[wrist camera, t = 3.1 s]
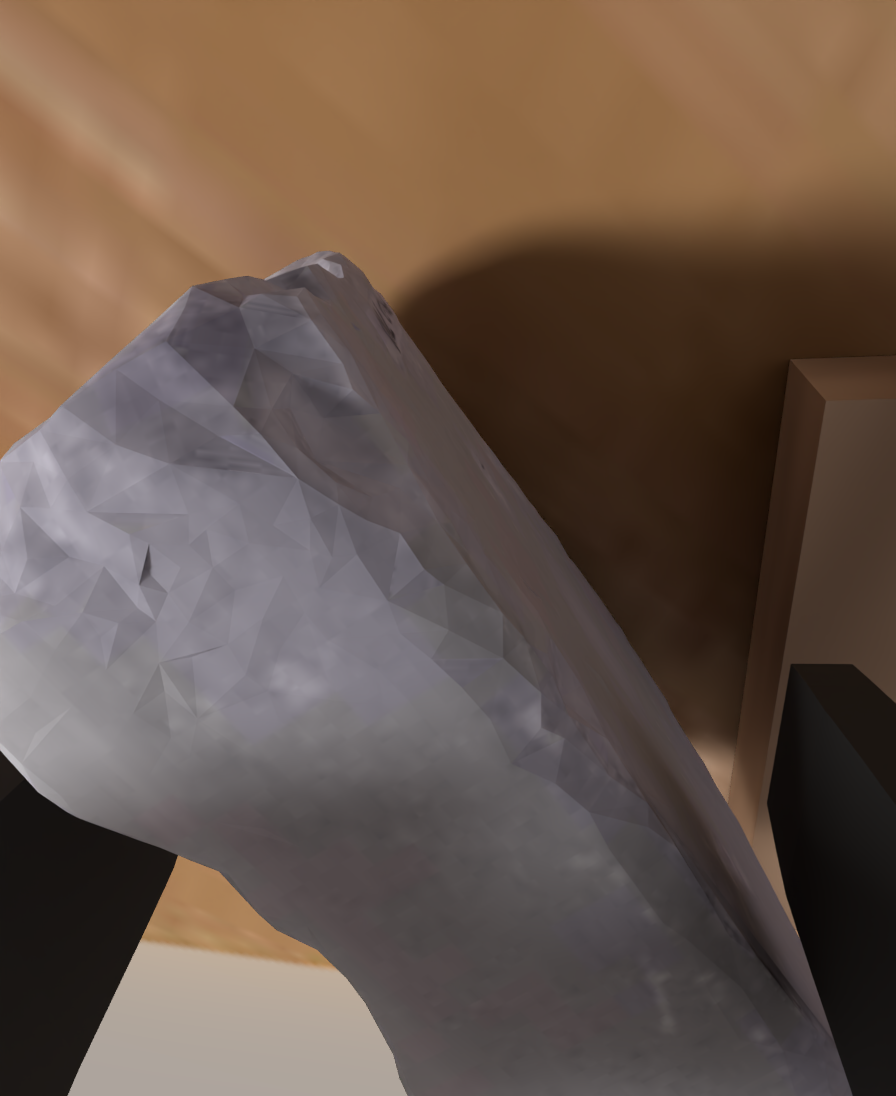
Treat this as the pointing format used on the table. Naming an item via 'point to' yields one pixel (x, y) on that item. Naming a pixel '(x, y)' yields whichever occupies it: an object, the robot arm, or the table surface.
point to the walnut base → (820, 563)
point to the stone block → (384, 708)
